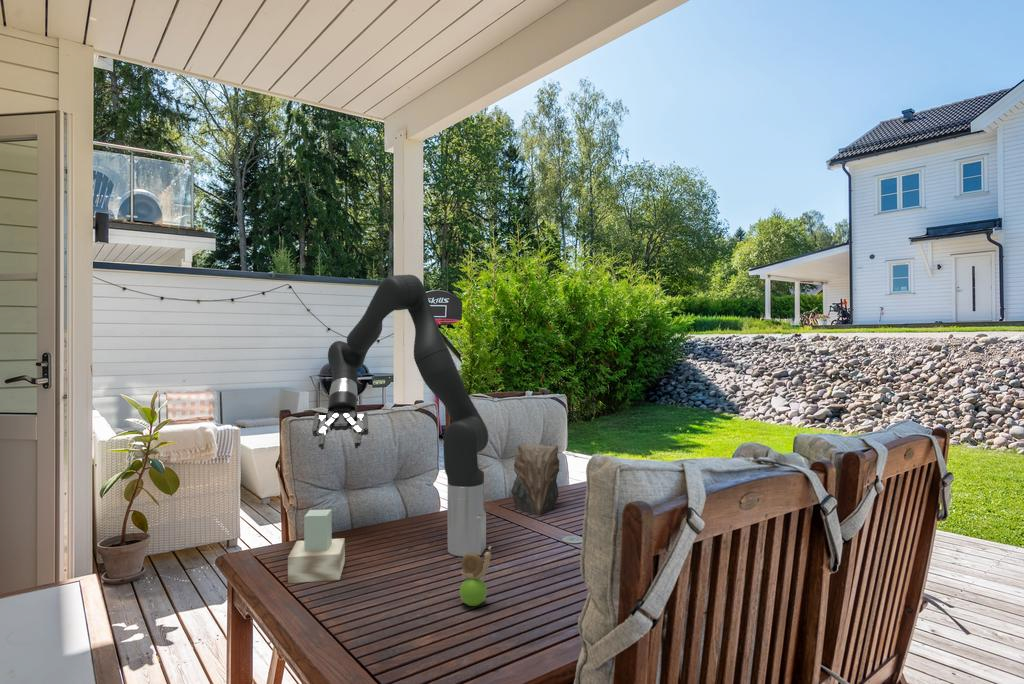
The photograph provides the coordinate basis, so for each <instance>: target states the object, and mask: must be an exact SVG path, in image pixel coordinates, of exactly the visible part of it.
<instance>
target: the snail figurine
mask: <svg viewBox="0 0 1024 684" xmlns="http://www.w3.org/2000/svg"><path fill="white" fill-rule="evenodd" d="M487 549H488V550H489V551H485V552H484V553H483V554H484V555H483V556H484V561H483V560H482V559H483V558H481V555H477V554H475V553H468V554H466V555H465V556H462V559H461V565H460V566H461V567H462V569H463V570H464V571H460V572H461V575H462V576H463V577H464V578H466V579H465V580H464V581H463V582H462V583H461V585H460V588H459V596H460V599H461V601H462V602H463V603H464V604H466V605H467V606H469V607H476V606H479V605H481V604H483V602H484V601H485V599H486V597H487V595H488V594H487V593H488V588H487V585H486V583H485V582H484V580H482V578H483V577H484V576H485V575H486V574H487V572H488V570H489V566H490V562H491V561H490V560H491V558H492V551H491V549H492V546H491V545H489V546H488V548H487Z"/></svg>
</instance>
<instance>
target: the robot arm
mask: <svg viewBox="0 0 1024 684" xmlns="http://www.w3.org/2000/svg"><path fill="white" fill-rule="evenodd" d="M403 310H407V311H408V313H409V315H410V318H411V320H412V323H413V325H414V330H415V334H414V342H413V343H414V344H413V360H414V361H415V365H416V367H417V369H418V371H419V375H420V376H421V378H422V379H423V381H424V383H425V385H426V386H427V387H428V389H429V390H430V391H431V392H432V393H433V394H434V396H435V397H437V399H439V401H440V402H441V403H442V404H443V405H444V407H445V409H446V411H447V412H448V415H449V417H450V420H451V423H450V424H449V425H448V426H447V427H446V429H445V431H444V433H443V443H442V444H443V462H444V463H443V465H444V472H445V475H446V476H447V541H446V542H447V543H446V544H447V553H449V554H450V555H452V556H456V557H464V556H465V555H466V554H468V553H475V554H477V555H479V556H482V554H484V553H483V552H484V551H485V550H486V548H487V511H486V510H485V473H484V471H483V470H482V469H480V468H479V463H478V462H479V461H478V453H480V452H483V450H485V448H486V447H487V445H488V443H489V430H488V427H487V426H486V423H485V422H484V420H483V418H482V417H481V415H480V413H479V412H478V410H477V408H476V406H475V405H474V402H473V400H472V399H471V397H470V396H469V394H468V391H467V389H466V387H465V384H464V381H463V380H462V377H461V375H460V373H459V371H458V369H457V366H456V363H455V362H454V359H453V356H452V355H451V352H450V350H449V348H448V346H447V344H446V342H445V339H444V337H443V335H442V332H441V330H440V327H439V325H438V323H437V320H436V318H435V315H434V312H433V309H432V307H431V303H430V301H429V297H428V294H427V292H426V288H425V286H424V285H423V282H422V281H421V279H419V277H417V276H416V275H413V274H398V275H397V274H396V275H389V276H386V277H385V278H383V280H382V281H381V282H380V284H379V285H378V287H377V288H376V291H375V293H374V295H373V297H372V299H371V300H370V303H369V304H368V306H367V308H366V311H365V312H364V314H363V315H362V317H361V319H360V320H359V321H358V322H357V323H356V324H355V326H354V327H353V328H352V330H351V331H350V332H349V333H348V335H347V337H346V341H342V340H338V341H337V340H336V341H334V342H333V343H331V345H330V346H329V348H328V351H327V361H328V365H329V368H330V372H331V375H332V377H331V384H330V388H329V396H328V406H327V407H328V408H327V413H325V415H322V414H321V415H320V413H319V412H316V413H315V414H314V417H313V423H312V427H311V432H312V436H313V437H318V440H317V444H318V448H320V450H325V443H326V436H328V435H329V434H331V433H332V432H333V431H348V430H350V432H352V433H353V434H354V448H355V449H359V447H360V446H361V445H362V436H368V435H369V432H370V431H369V415H368V414H369V413H368V411H364V412H363V413H362V414H358V413H357V412H358V410H357V408H358V407H357V406H358V371H357V370H359V369H360V368H362V366H363V365H364V362H365V359H366V357H367V353H368V351H369V349H370V348H371V347H372V346H373V345H374V343H375V342H376V341H377V340H378V338H380V336H381V333H382V331H383V321H384V320H385V318H386V317H388V316H389V315H390V314H391V313H392V312H395V311H403ZM359 420H360V422H361V423H363V425H362V426H363V427H360V426H359V425H358V424H357V421H359ZM324 421H325V423H324V424H323V426H322V427H321V428H320V425H321V424H322V423H323V422H324Z"/></svg>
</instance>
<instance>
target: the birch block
mask: <svg viewBox="0 0 1024 684" xmlns="http://www.w3.org/2000/svg"><path fill="white" fill-rule="evenodd" d="M345 540H346V539H345V537H343V538H342V537H341V538H332V544H331V545H330V547H329V549H328V550H327V551H311V552H304V540H296V542H295V544H294V545H293V547H292V549H291V551H290V552H289V554H288V556H287V583H288V584H294V583H296V584H297V583H298V584H299V583H309V582H310V583H314V582H326V581H338V580H339V581H340V580H341V577H342V572H343V568H344V566H345V563H346V557H345V556H346V553H345V552H346V550H345V549H346V541H345Z"/></svg>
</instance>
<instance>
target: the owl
mask: <svg viewBox="0 0 1024 684" xmlns="http://www.w3.org/2000/svg"><path fill="white" fill-rule="evenodd" d="M558 447H559V446H558V445H549V444H546V443H538V444H536V445H535V444H531V445H529V444H528V445H527V444H517V450H518V452H517V454H516V457H515V458H514V463H513V470H514V472H515V474H516V477H515V480H514V481H513V486H512V488H511V491H510V492H511V495H512V498H513V503H514V506H515V507H514V509H515V510H518V511H521V512H524V513H527V514H530V515H534V516H540V517H541V516H542V515H545V514H547V513H548V512H550V511H551V510H554V509H556V504H557V500H558V498H559V487H558V483H557V480H558V479H557V478H558V474H559V472H560V459H559V457H558V454H559V453H558V452H559V448H558Z"/></svg>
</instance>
